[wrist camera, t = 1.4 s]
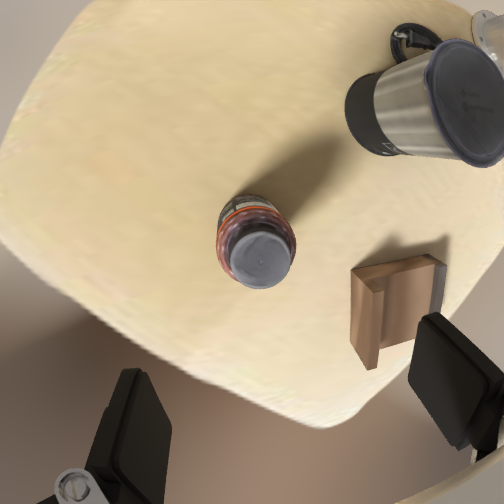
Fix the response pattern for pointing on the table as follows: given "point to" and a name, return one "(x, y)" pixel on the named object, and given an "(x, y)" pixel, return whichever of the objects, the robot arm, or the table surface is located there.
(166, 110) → the table surface
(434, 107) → the milk frother
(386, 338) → the shelf
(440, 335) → the robot arm
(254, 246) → the supplement bottle
